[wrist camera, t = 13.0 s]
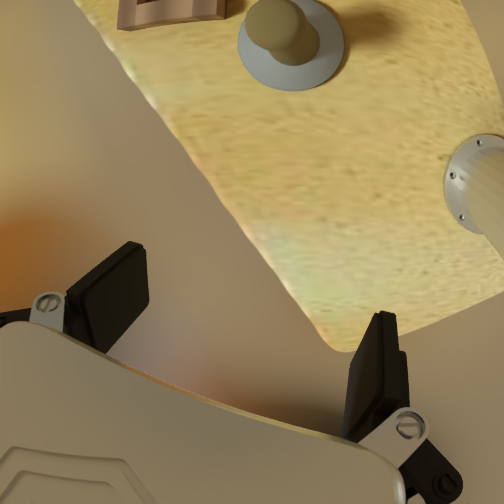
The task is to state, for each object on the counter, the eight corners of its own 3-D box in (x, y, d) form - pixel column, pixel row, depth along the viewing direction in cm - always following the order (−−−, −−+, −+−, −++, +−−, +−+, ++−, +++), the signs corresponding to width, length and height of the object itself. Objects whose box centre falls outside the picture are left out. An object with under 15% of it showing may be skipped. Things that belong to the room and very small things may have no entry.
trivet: (346, 2, 26) (346, 0, 25) (339, 97, 31) (339, 97, 31) (242, -3, 28) (240, -5, 27) (237, 87, 34) (234, 87, 33)
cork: (325, 62, 29) (317, 46, 20) (271, 70, 31) (242, 60, 22) (314, 14, 27) (301, -19, 17) (261, 23, 29) (228, -3, 19)
